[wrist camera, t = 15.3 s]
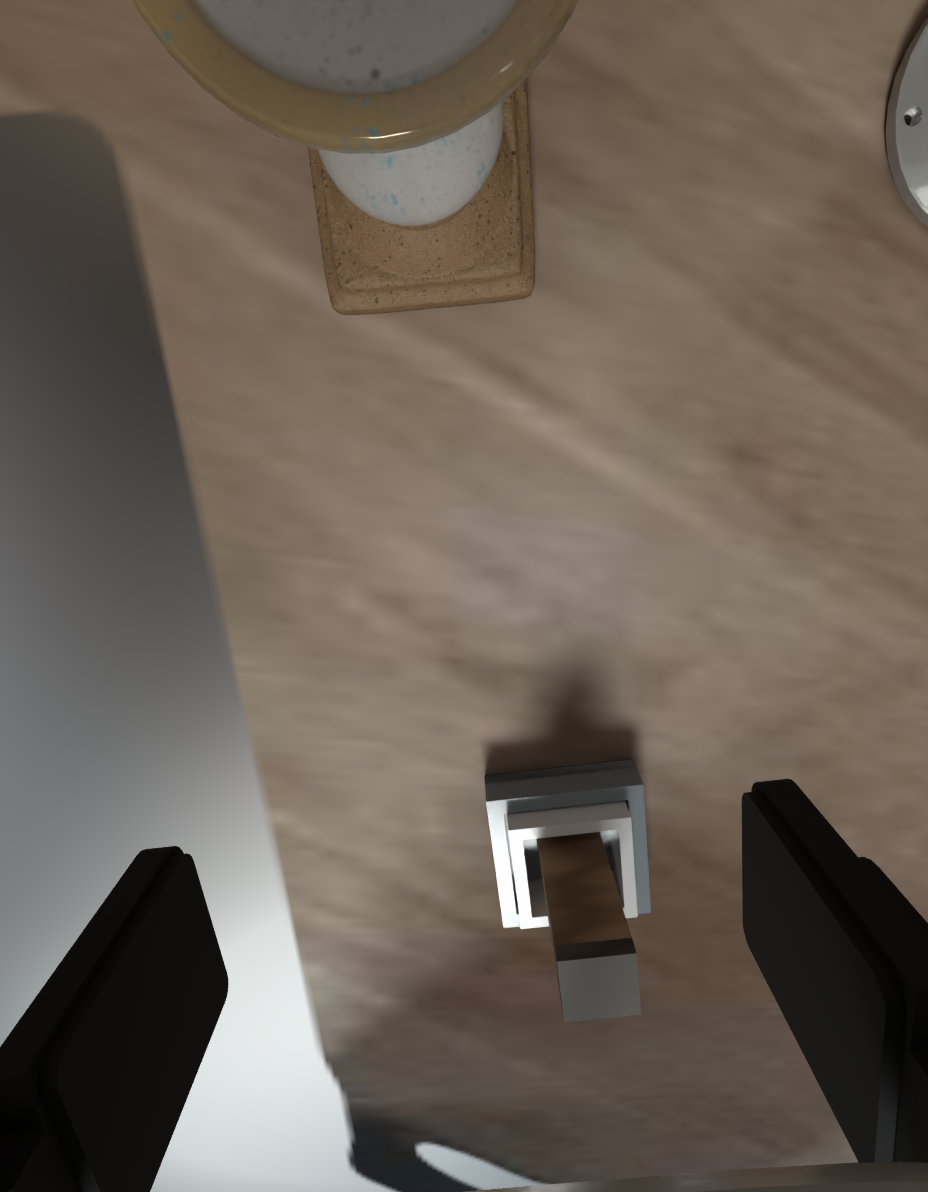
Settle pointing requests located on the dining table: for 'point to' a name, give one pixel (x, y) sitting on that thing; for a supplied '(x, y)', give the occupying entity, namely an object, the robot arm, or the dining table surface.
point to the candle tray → (566, 831)
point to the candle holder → (390, 130)
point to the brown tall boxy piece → (588, 929)
